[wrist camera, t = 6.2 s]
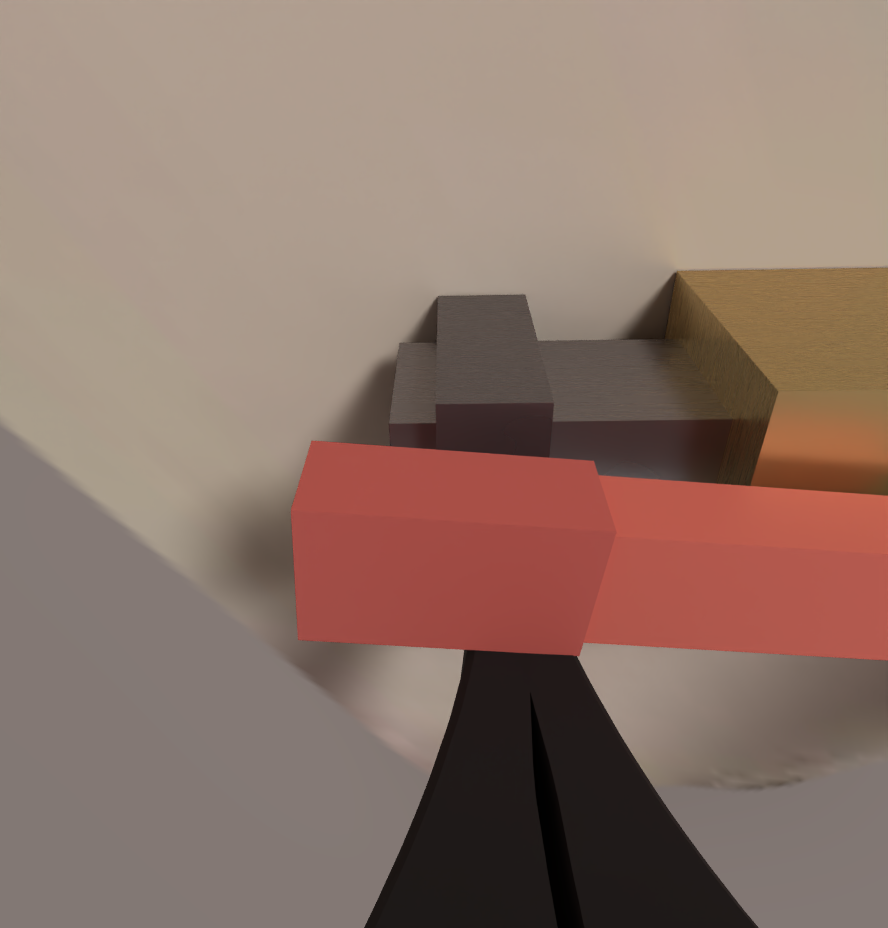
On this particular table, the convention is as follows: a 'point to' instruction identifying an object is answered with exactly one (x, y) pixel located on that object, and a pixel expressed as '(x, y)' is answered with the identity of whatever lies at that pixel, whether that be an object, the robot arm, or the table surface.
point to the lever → (578, 558)
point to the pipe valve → (671, 384)
